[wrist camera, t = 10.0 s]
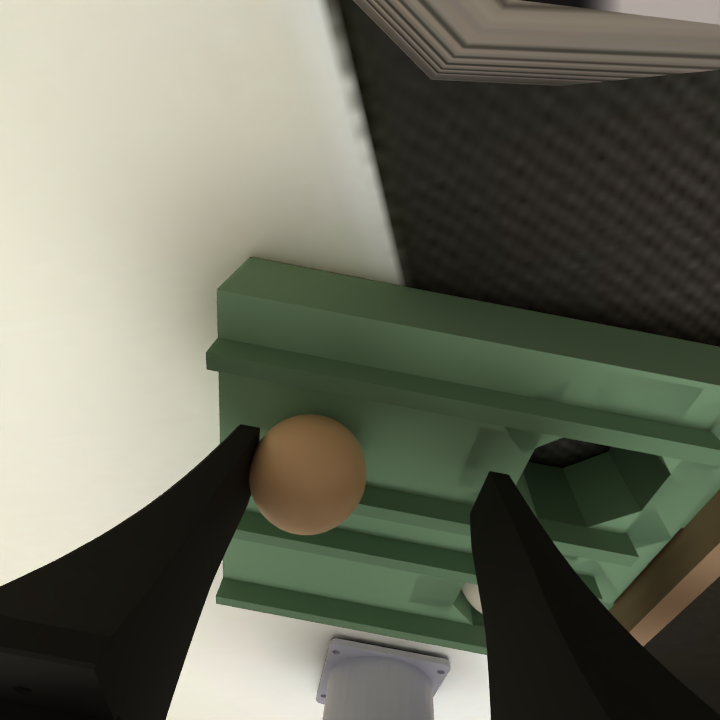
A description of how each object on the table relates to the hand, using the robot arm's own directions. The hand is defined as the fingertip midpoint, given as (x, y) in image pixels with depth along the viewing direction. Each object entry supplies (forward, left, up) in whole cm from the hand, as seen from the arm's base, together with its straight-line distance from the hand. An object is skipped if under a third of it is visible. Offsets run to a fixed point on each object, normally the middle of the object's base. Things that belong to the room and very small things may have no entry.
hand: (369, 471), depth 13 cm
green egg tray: (-4, -3, -4) cm, 7 cm away
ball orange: (0, +2, 0) cm, 2 cm away
